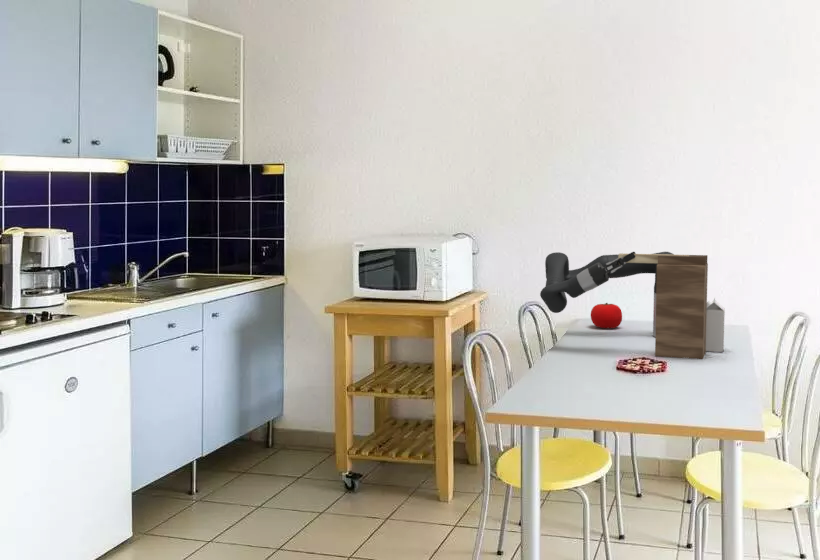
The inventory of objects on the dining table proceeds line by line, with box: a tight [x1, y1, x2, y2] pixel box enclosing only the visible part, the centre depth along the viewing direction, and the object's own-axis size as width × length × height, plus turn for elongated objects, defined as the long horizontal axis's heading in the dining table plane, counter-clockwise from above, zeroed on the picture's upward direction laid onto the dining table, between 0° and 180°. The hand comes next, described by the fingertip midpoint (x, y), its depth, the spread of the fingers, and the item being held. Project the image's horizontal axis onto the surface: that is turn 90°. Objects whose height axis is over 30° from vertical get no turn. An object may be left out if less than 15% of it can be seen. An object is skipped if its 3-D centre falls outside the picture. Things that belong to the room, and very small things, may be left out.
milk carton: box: [706, 296, 726, 353], centre depth 357 cm, size 7×7×19 cm
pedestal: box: [654, 254, 709, 360], centre depth 347 cm, size 12×16×35 cm
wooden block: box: [618, 252, 690, 263], centre depth 349 cm, size 3×24×3 cm, turn 69°
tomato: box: [590, 302, 623, 329], centre depth 413 cm, size 14×13×10 cm
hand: (634, 254), depth 351 cm, fingers closed on wooden block, 3 cm apart
